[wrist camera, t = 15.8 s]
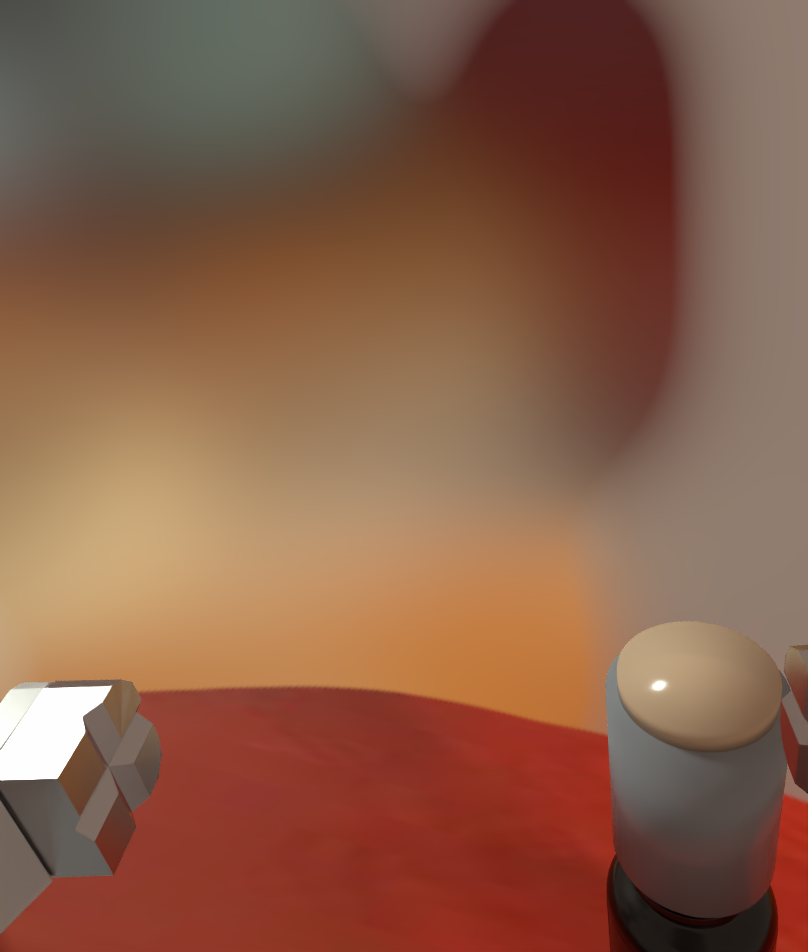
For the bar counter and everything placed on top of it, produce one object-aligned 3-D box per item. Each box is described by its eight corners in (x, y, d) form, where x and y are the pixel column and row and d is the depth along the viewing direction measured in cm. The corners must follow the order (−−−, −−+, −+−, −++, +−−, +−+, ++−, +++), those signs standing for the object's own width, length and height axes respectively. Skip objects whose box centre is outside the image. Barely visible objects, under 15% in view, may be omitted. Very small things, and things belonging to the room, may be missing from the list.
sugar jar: (623, 916, 28) (616, 747, 24) (605, 779, 34) (596, 618, 29) (796, 919, 27) (823, 742, 23) (750, 777, 32) (765, 609, 28)
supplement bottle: (800, 1016, 35) (826, 853, 29) (698, 1124, 32) (704, 969, 26) (678, 900, 40) (680, 743, 35) (582, 985, 38) (566, 830, 32)
